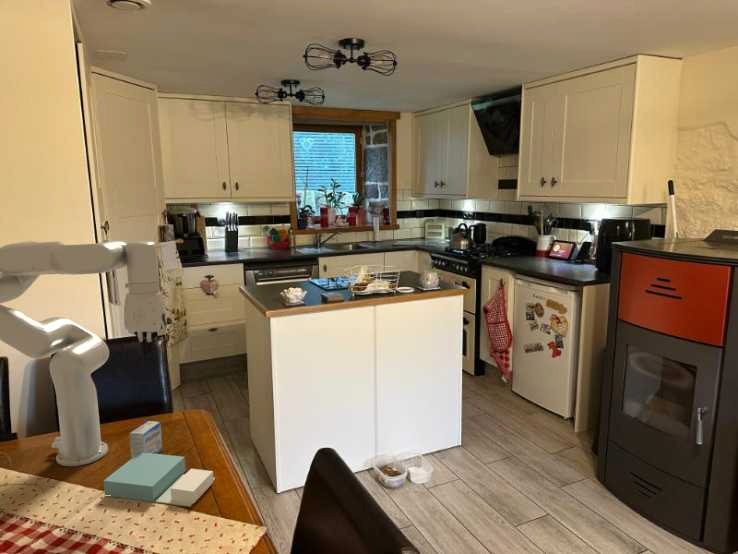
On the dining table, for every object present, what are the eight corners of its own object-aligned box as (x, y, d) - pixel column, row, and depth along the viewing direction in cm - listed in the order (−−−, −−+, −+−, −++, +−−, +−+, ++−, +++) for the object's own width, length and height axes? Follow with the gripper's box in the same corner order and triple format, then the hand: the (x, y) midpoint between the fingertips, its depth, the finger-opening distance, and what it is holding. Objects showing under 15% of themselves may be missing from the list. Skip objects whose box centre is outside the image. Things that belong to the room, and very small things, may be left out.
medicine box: (145, 464, 138) (143, 434, 136) (131, 462, 139) (128, 432, 137) (163, 450, 145) (161, 421, 144) (149, 448, 146) (146, 420, 145)
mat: (155, 502, 121) (155, 501, 121) (183, 475, 132) (182, 474, 132) (190, 506, 119) (190, 505, 119) (215, 478, 131) (215, 477, 131)
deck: (104, 495, 123) (103, 480, 123) (141, 466, 137) (140, 452, 136) (153, 502, 121) (152, 486, 120) (185, 471, 135) (184, 456, 134)
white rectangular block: (193, 491, 120) (194, 503, 120) (212, 471, 128) (213, 482, 129) (170, 488, 121) (171, 500, 121) (191, 468, 129) (191, 479, 130)
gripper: (109, 289, 133) (115, 357, 136) (161, 291, 130) (166, 361, 133) (128, 284, 140) (133, 349, 143) (177, 286, 137) (181, 352, 140)
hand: (148, 354), depth 138 cm, fingers closed
